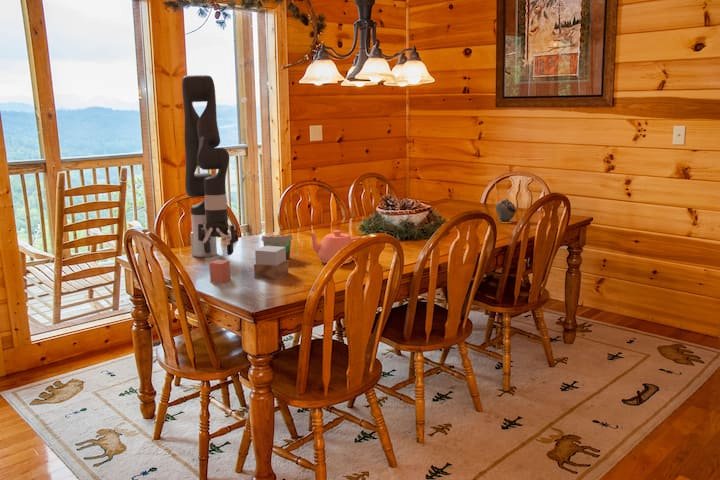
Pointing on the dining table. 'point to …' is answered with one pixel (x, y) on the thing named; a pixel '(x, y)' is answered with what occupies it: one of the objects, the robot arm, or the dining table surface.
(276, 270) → the bottom slab
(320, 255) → the teapot
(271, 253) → the top slab
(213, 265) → the red block
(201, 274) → the dining table surface
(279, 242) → the food container
